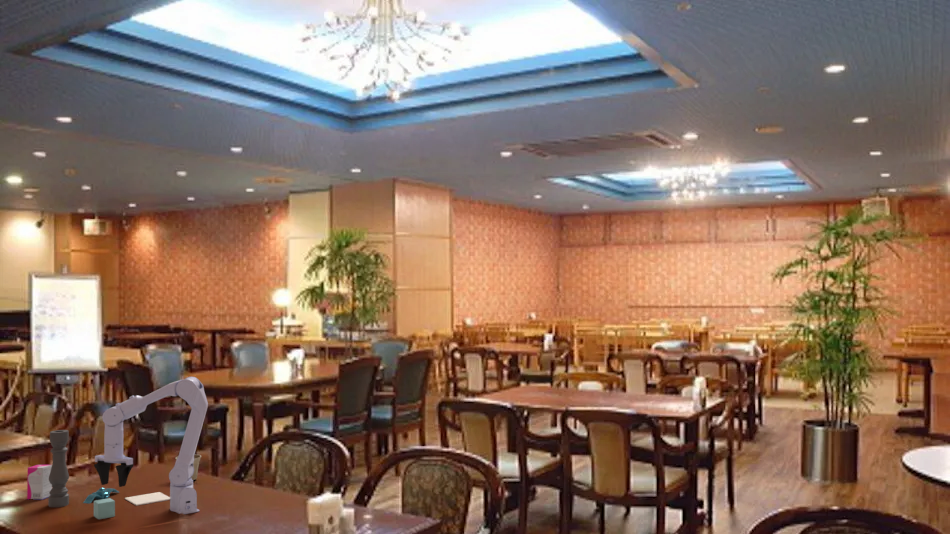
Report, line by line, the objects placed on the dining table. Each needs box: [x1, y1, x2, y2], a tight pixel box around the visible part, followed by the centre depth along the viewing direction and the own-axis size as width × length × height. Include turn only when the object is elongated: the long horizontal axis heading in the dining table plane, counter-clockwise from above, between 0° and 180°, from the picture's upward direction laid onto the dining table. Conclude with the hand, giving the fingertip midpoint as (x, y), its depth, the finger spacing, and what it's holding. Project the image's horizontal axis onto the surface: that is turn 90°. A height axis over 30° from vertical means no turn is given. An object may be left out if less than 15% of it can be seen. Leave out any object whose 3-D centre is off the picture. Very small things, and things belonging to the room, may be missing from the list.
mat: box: [124, 491, 170, 507], centre depth 277 cm, size 12×12×1 cm
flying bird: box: [82, 487, 120, 505], centre depth 280 cm, size 15×7×4 cm, turn 165°
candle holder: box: [47, 429, 70, 508], centre depth 270 cm, size 6×6×25 cm
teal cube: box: [93, 497, 116, 520], centre depth 257 cm, size 5×5×5 cm
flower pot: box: [175, 453, 202, 481], centre depth 307 cm, size 9×9×9 cm
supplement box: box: [26, 464, 52, 501], centre depth 279 cm, size 6×6×12 cm
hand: (113, 485), depth 262 cm, fingers open, 7 cm apart
